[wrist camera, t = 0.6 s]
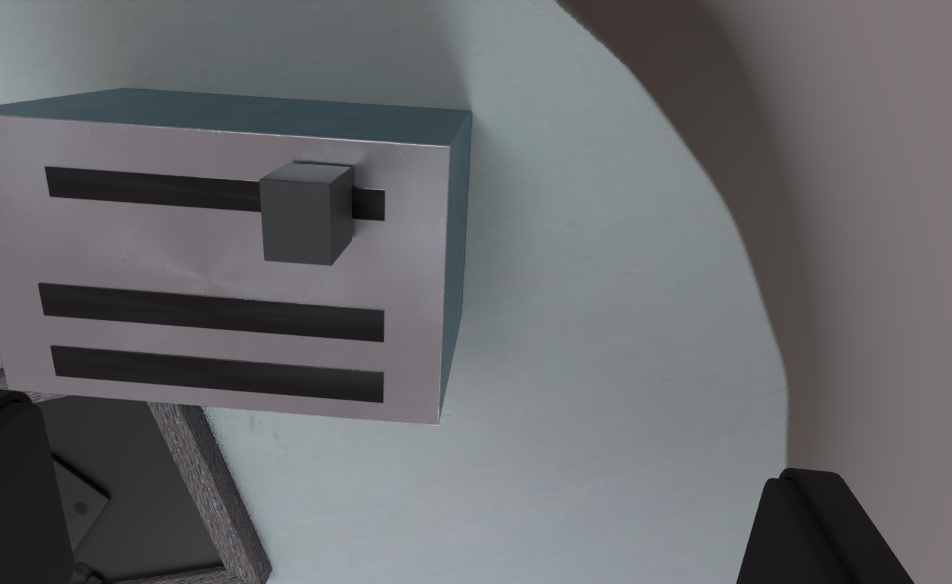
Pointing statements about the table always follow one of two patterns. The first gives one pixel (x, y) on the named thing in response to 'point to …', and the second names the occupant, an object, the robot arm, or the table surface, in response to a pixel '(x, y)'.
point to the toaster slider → (306, 213)
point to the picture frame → (147, 494)
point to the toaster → (229, 253)
